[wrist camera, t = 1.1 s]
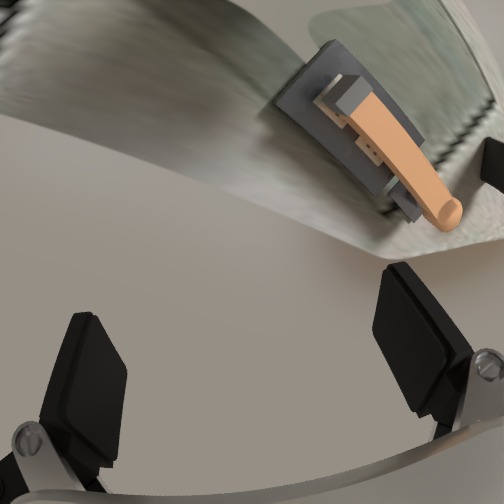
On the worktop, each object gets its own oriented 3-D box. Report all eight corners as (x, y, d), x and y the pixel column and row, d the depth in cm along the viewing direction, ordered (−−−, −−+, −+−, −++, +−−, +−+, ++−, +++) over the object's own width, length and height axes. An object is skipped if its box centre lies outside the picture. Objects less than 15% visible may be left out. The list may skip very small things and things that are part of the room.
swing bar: (346, 72, 24) (363, 72, 21) (450, 202, 33) (467, 214, 30) (318, 102, 25) (332, 106, 23) (430, 225, 34) (446, 239, 31)
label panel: (328, 40, 26) (337, 38, 24) (415, 136, 32) (426, 141, 30) (271, 102, 29) (276, 104, 27) (367, 190, 35) (376, 197, 33)
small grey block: (418, 158, 34) (437, 169, 30) (439, 188, 36) (458, 201, 33) (387, 193, 36) (404, 207, 32) (411, 221, 38) (428, 235, 35)
